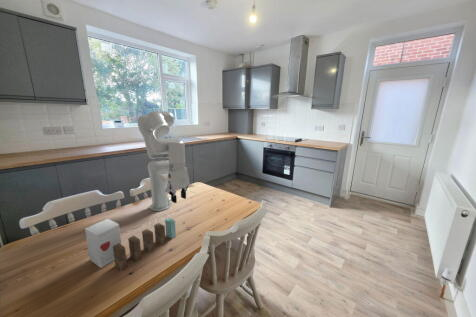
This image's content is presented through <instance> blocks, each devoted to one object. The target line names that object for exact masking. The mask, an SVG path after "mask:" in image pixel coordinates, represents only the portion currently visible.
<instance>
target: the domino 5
mask: <svg viewBox="0 0 476 317" xmlns="http://www.w3.org/2000/svg"><path fill="white" fill-rule="evenodd" d="M164 222H165V225H164V226H165V237H168V238H170V239H174V238H175V237H177V235H176V233H177V232H176V220H175V219H173V218H171V217H167V218H166V219H164Z"/></svg>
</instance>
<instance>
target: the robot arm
mask: <svg viewBox="0 0 476 317" xmlns="http://www.w3.org/2000/svg"><path fill="white" fill-rule="evenodd" d="M174 123H175V117H174V115H173V113H172V112H170V111H165V110H164V111H162V110H153V111H150V112H149V113H148V114H147V115H145V114H144V115H140V116H139V117H138V118H137V127H138V130H139V132H140V134H141V135H142V137H143V141H144V146H145V150H146V152H147V156H148V158H149V159H154V160H151V161H150V162H148V164H147V170H148V174H149V180H150V181H149V182H150V190H151V191H150V192H151V202H152V203H151V204H150V205H149V209H150V211H154V212H162V211H165V210H168V209H169V208H170V207H171V203H174V204H176V203H177V202H178V201H177V199H178V198H177V195H176V194H177V191H179V190H180V197H181V199H184V200H185V199H187V191H188V188H189V186H190V184H191V181H190V179H189V177H190V176H189V173H188V168H187V166H186V150H185V149H186V148H185V147H186V146H185V142H184V141H183V140H180V139H179V138H178V137H177V138H174V137H173V138H163V137H166V136H167V135H168V134H169V133H170V127H172V126H173V125H174ZM166 174H167V178H166V177H164V176H163V175H166ZM168 194H169V195H170V196H168Z"/></svg>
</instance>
